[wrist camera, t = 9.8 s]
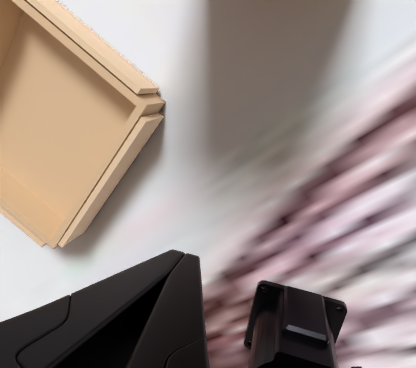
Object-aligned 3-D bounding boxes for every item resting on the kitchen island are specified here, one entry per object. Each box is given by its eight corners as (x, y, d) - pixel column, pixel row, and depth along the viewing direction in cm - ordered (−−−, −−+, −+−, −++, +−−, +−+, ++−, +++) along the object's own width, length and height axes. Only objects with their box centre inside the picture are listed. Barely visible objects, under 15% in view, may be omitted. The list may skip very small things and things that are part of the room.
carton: (176, 100, 21) (158, 103, 18) (80, 239, 27) (55, 258, 24) (34, -19, 21) (-7, -36, 18) (-31, 147, 26) (-69, 154, 24)
